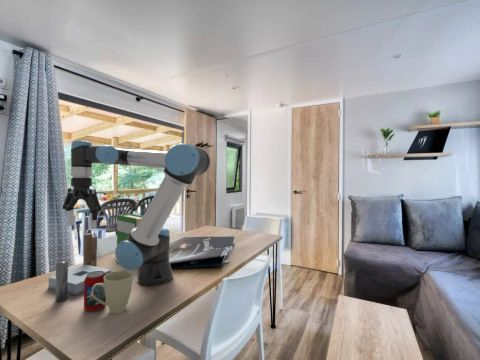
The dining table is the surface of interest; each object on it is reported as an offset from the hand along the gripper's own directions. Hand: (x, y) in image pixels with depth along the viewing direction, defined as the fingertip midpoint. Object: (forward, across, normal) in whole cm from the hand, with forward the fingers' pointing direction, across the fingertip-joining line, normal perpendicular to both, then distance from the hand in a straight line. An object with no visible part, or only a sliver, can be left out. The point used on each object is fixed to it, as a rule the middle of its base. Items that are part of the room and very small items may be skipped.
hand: (81, 226), depth 104 cm
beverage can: (+25, -22, +11) cm, 35 cm away
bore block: (+24, 0, 0) cm, 24 cm away
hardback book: (+25, +6, -34) cm, 42 cm away
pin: (+24, -6, +12) cm, 28 cm away
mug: (+25, -30, +10) cm, 41 cm away
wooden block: (+24, +13, -14) cm, 31 cm away
